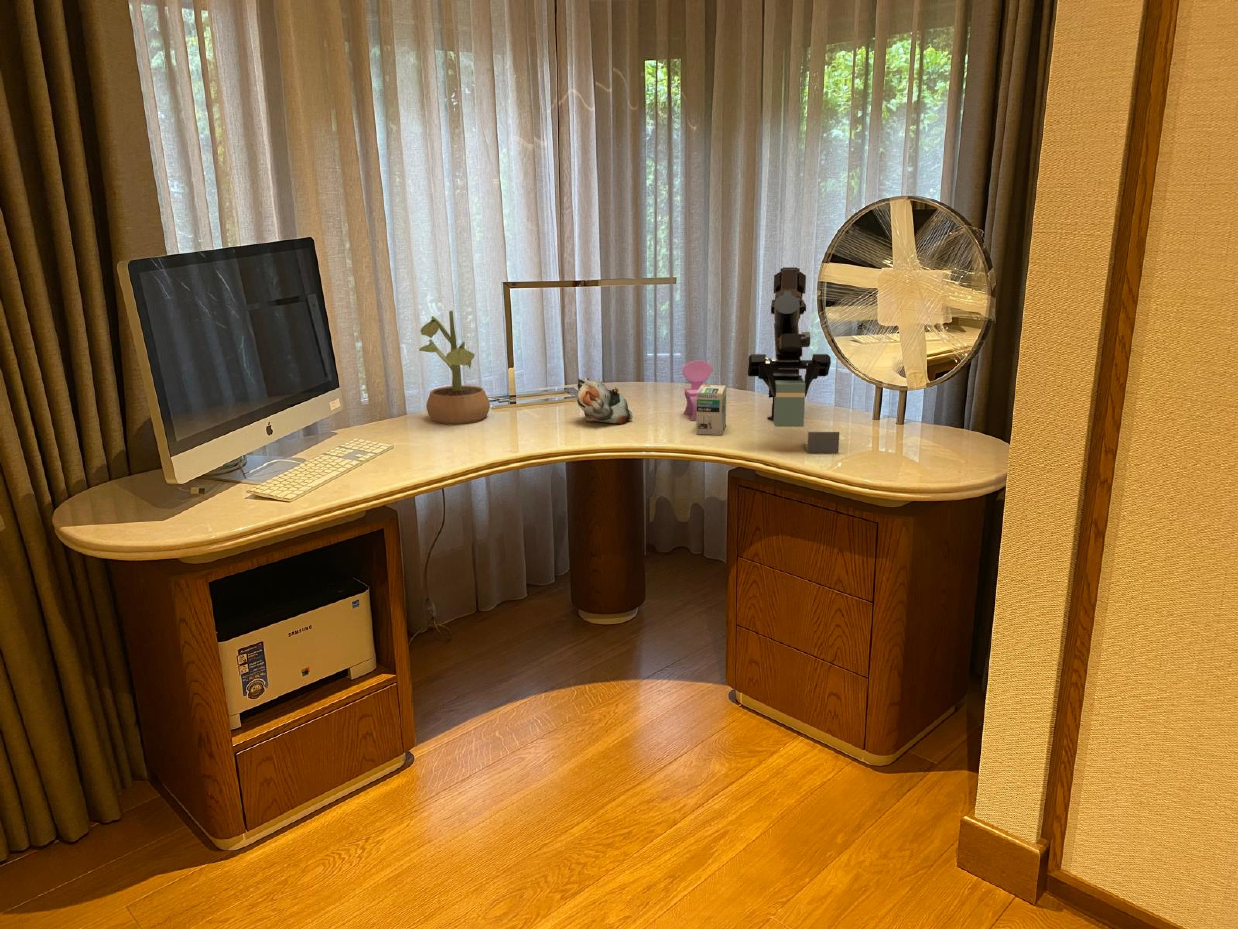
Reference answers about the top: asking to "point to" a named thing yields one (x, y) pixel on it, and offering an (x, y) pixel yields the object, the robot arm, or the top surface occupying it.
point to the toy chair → (695, 383)
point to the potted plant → (454, 382)
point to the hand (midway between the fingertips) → (790, 395)
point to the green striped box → (789, 404)
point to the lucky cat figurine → (602, 402)
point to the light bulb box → (711, 410)
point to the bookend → (822, 442)
